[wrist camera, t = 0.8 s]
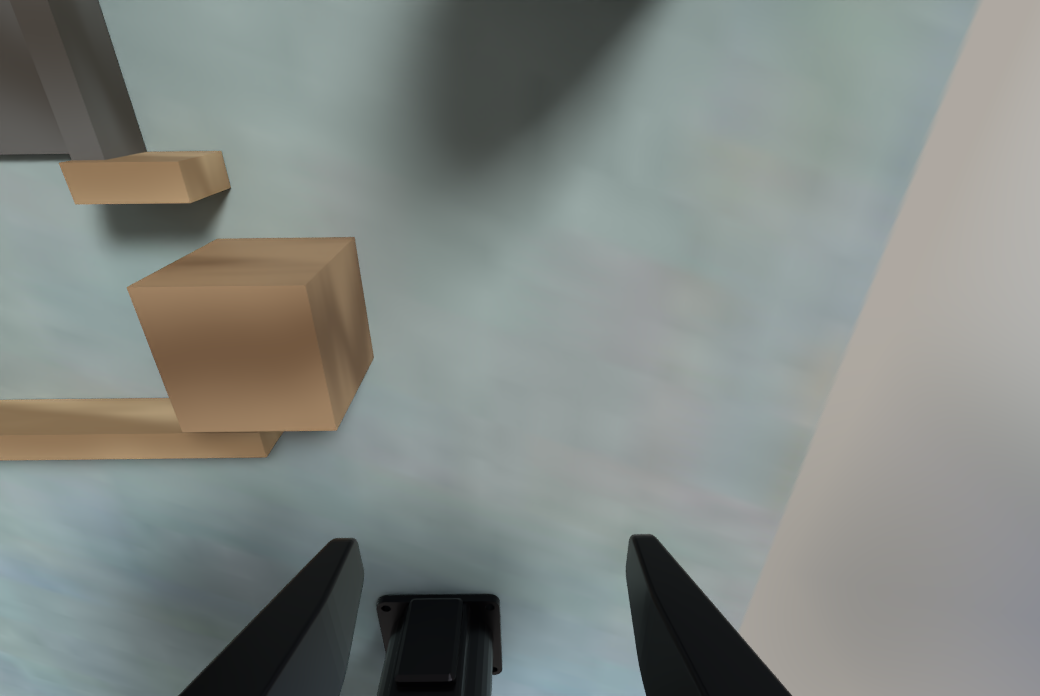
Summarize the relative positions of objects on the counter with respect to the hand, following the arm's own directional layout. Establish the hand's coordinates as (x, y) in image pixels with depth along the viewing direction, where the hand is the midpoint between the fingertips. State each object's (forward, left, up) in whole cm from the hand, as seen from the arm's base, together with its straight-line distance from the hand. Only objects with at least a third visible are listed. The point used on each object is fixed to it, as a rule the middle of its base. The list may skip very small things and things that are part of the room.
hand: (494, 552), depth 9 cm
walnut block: (0, +8, -12) cm, 15 cm away
